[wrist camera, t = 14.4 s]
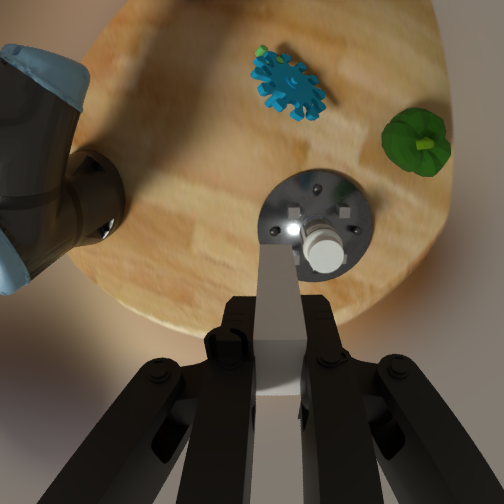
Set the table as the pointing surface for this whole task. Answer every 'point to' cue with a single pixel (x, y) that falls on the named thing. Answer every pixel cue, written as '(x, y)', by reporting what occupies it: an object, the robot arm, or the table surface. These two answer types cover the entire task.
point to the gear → (287, 84)
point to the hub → (316, 203)
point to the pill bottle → (321, 244)
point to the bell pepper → (417, 142)
